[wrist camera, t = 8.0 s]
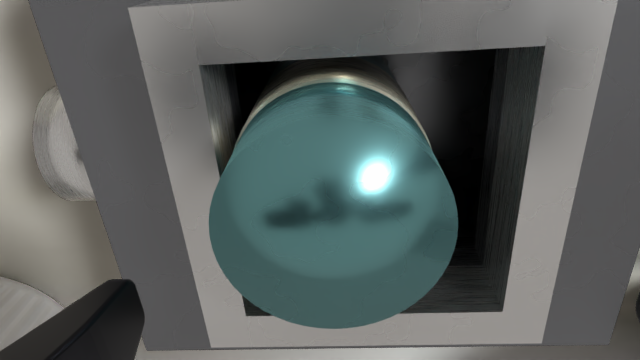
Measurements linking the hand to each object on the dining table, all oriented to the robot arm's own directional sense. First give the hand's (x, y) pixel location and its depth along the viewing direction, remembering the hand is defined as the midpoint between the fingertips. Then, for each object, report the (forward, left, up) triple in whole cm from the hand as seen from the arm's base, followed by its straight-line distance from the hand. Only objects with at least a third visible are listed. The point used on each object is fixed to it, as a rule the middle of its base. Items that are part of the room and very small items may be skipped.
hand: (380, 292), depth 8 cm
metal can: (+1, 0, -10) cm, 10 cm away
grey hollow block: (+1, 0, -10) cm, 11 cm away
